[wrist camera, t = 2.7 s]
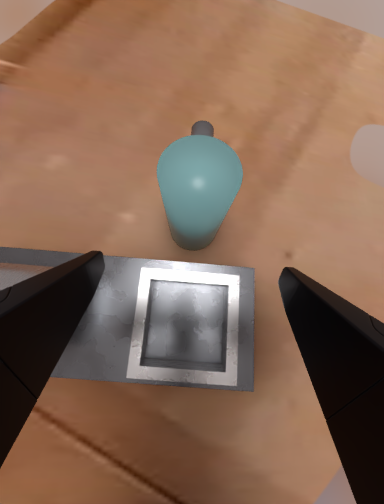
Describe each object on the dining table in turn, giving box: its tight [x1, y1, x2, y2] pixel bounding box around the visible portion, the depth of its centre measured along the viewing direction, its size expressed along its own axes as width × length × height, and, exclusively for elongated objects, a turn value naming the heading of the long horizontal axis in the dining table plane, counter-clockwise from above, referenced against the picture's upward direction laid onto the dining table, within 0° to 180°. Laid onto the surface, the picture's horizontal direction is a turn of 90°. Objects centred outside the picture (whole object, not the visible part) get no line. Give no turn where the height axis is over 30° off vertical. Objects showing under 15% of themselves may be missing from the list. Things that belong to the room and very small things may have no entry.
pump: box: [157, 121, 243, 250], centre depth 18 cm, size 8×6×11 cm
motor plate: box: [0, 247, 254, 392], centre depth 15 cm, size 28×12×11 cm, turn 85°
